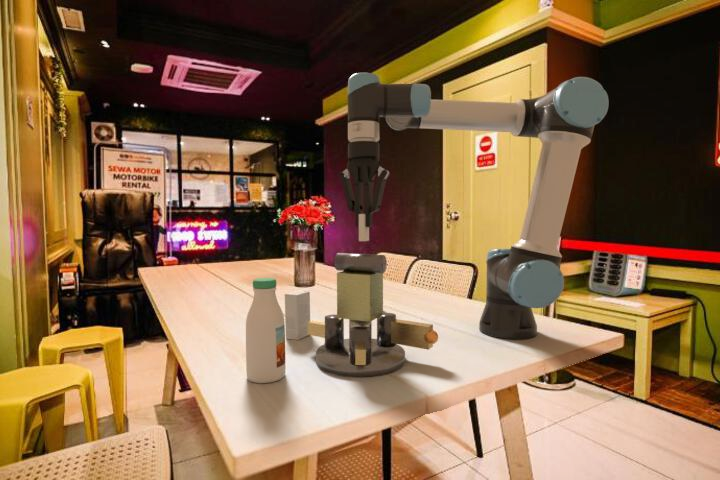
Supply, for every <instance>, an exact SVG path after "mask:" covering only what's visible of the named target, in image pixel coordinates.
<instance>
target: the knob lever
mask: <svg viewBox="0 0 720 480" xmlns="http://www.w3.org/2000/svg"><path fill="white" fill-rule="evenodd" d="M376 339H377V346H379V347H385V348H389V347H394V346H396V344H397V345H399V346H401V345H402V346H405V347H412V348H418V349H424V350H430V349H432V348H433V347H434V344H436V343H437V342H438V341H439V334H438V333H437V332H436V331H435V329H434V324H432V323H423V322H418V321H410V320H405V319H398V318H397V315H396V314H395V313H392V312H383V315H381V316H380V317H378V318H376Z"/></svg>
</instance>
